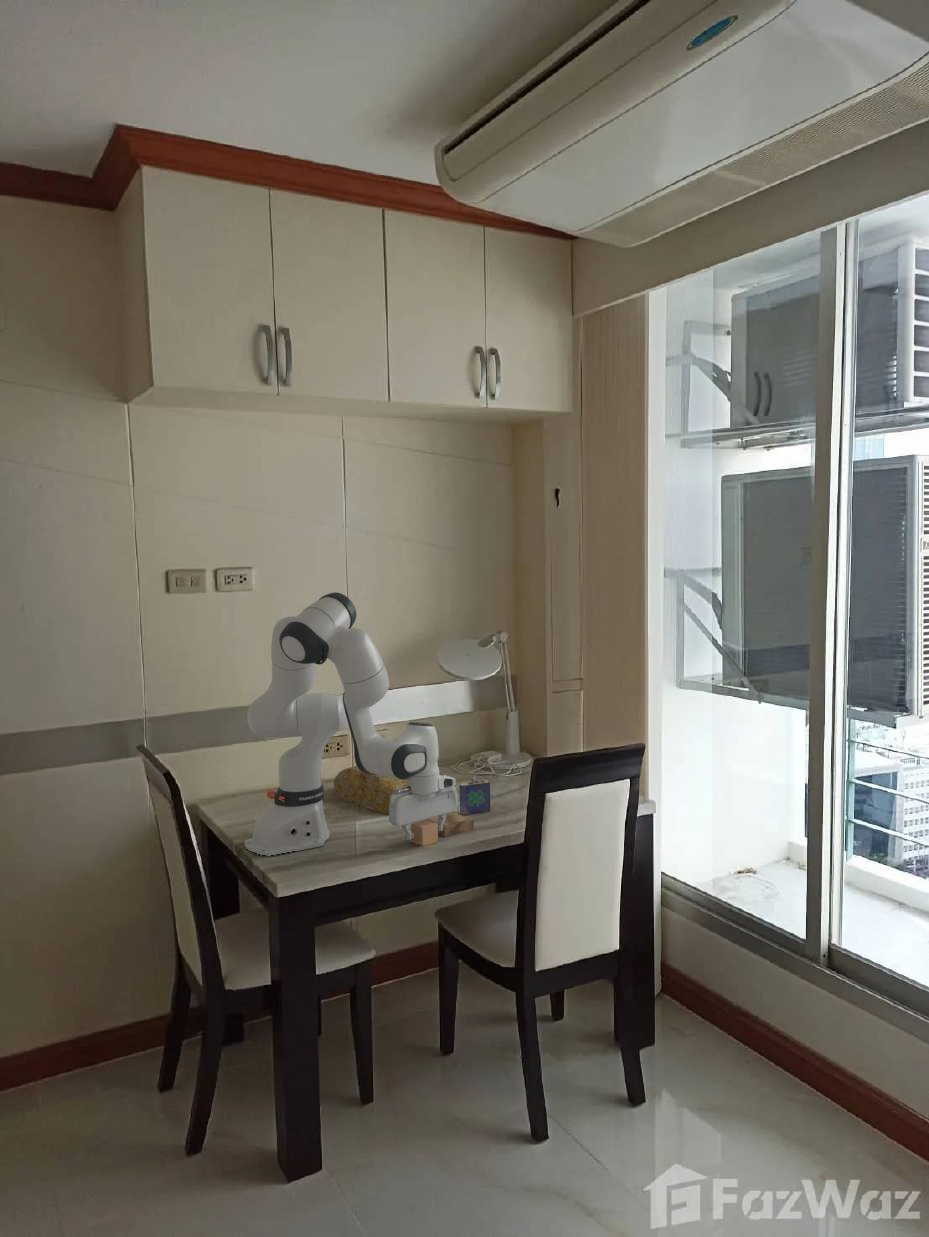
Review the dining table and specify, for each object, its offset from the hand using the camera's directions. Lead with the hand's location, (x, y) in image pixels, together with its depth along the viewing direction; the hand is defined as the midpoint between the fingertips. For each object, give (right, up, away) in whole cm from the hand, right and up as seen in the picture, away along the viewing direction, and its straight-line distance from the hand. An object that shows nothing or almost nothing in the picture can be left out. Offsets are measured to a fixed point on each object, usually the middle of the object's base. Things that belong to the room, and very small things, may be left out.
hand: (424, 834), depth 242 cm
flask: (+13, +1, +24) cm, 27 cm away
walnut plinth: (+6, -1, +11) cm, 12 cm away
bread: (-17, +1, +38) cm, 41 cm away
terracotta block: (0, -2, +1) cm, 2 cm away
